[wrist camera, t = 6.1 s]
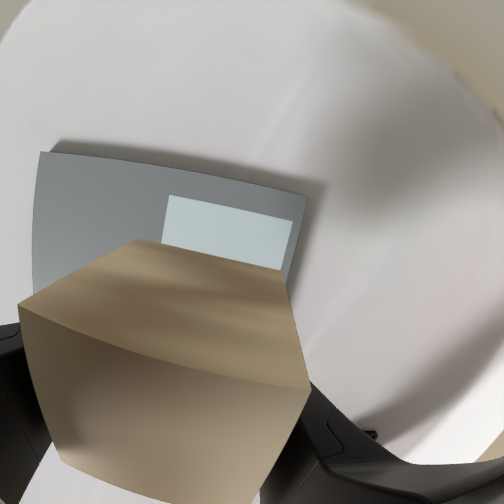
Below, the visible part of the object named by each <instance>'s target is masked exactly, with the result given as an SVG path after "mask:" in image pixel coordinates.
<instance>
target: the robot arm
mask: <svg viewBox="0 0 504 504" xmlns="http://www.w3.org/2000/svg"><path fill="white" fill-rule="evenodd" d="M309 381H310V380H309ZM310 385H311V389H312V390H311V392H310V395H309V397H308V399H307V401H306V403H305V405H304V408H303V410H302V412H301V414H300V416H299V418H298V420H297V422H296V424H295V426H294V428H293V430H292V432H291V434H290V436H289V438H288V440H287V442H286V444H285V445H284V447H283V449H282V451H281V453H280V455H279V457H278V458H277V460H276V462H275V464H274V466H273V467H272V469H271V471H270V473H269V474H268V476H267V478H266V479H265V481H264V483H263V484H262V486H261V488H260V504H504V456H503V457H501V458H498V459H494V460H490V461H485V462H477V463H465V464H446V465H418V464H412V463H408V462H405V461H403V460H401V459H399V458H398V457H396V456H395V455H394V454H392V453H391V452H389V451H388V450H387V449H385V448H384V447H383V446H381V445H380V444H379V443H377V442H376V441H375V440H376V438H377V437H378V434H377V432H376V431H362V430H361V429H359V428H358V427H357V426H356V425H355V424H353V423H352V422H351V421H350V420H349V419H348V418H347V417H346V416H345V415H344V414H343V413H342V412H341V411H340V410H339V409H336V407H335V406H334V405H333V404H332V403H331V402H330V401H329V400H328V399H327V398H326V397H325V396H324V395H323V394H322V393H321V392H320V391H319V390H318V389H317V388H316V386H315V385H314V384H313V383H312V382H311V381H310ZM52 441H53V440H52V438H51V435H50V433H49V430H48V428H47V425H46V422H45V420H44V417H43V414H42V411H41V408H40V405H39V402H38V399H37V396H36V392H35V389H34V385H33V382H32V378H31V374H30V370H29V366H28V362H27V358H26V353H25V348H24V343H23V338H22V333H21V327H20V322H19V323H13V324H7V325H1V326H0V502H1V503H2V504H19V502H20V500H21V498H22V496H23V494H24V492H25V490H26V488H27V486H28V484H29V482H30V480H31V479H32V477H33V475H34V473H35V471H36V469H37V468H38V466H39V463H40V462H41V460H42V458H43V456H44V455H45V453H46V451H47V449H48V448H49V446H50V444H51V443H52Z"/></svg>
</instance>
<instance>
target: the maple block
mask: <svg viewBox="0 0 504 504" xmlns="http://www.w3.org/2000/svg"><path fill="white" fill-rule="evenodd" d="M17 305H18V313H19V320H20V327H21V333H22V338H23V343H24V348H25V353H26V358H27V362H28V366H29V370H30V374H31V378H32V382H33V385H34V389H35V392H36V396H37V399H38V402H39V405H40V408H41V411H42V414H43V417H44V420H45V422H46V425H47V428H48V430H49V433H50V435H51V438H52V440H53V443H54V445H55V447H56V450H57V452H58V454H59V457H60V459H61V461H62V462H64V463H66V464H68V465H70V466H72V467H74V468H76V469H78V470H80V471H82V472H84V473H86V474H88V475H91V476H93V477H95V478H97V479H100V480H102V481H104V482H107V483H109V484H112V485H115V486H117V487H120V488H123V489H125V490H128V491H131V492H134V493H137V494H140V495H143V496H146V497H150V498H153V499H156V500H160V501H164V502H167V503H171V504H251V502H252V501H253V499H254V498H255V496H256V494H257V493H258V491H259V489H260V488H261V486H262V484H263V483H264V481H265V479H266V478H267V476H268V474H269V473H270V471H271V469H272V467H273V466H274V464H275V462H276V460H277V458H278V457H279V455H280V453H281V451H282V449H283V447H284V445H285V444H286V442H287V440H288V438H289V436H290V434H291V432H292V430H293V428H294V426H295V424H296V422H297V420H298V418H299V416H300V414H301V412H302V410H303V408H304V405H305V403H306V401H307V399H308V397H309V395H310V392H311V390H312V389H311V385H310V381H309V377H308V373H307V369H306V364H305V360H304V356H303V352H302V348H301V344H300V340H299V336H298V332H297V328H296V324H295V320H294V317H293V313H292V309H291V305H290V301H289V297H288V293H287V290H286V286H285V282H284V278H283V275H282V271H281V270H277V269H272V268H268V267H263V266H259V265H254V264H250V263H245V262H241V261H236V260H232V259H227V258H223V257H219V256H214V255H210V254H205V253H201V252H197V251H192V250H188V249H184V248H179V247H175V246H171V245H166V244H162V243H158V242H154V241H149V240H145V239H141V238H138V239H136V240H134V241H132V242H130V243H128V244H126V245H124V246H122V247H120V248H118V249H116V250H114V251H112V252H110V253H108V254H106V255H104V256H102V257H100V258H98V259H97V260H95V261H93V262H91V263H89V264H87V265H85V266H83V267H82V268H80V269H78V270H76V271H74V272H72V273H71V274H69V275H67V276H65V277H63V278H62V279H60V280H58V281H56V282H55V283H53V284H51V285H49V286H48V287H46V288H44V289H42V290H41V291H39V292H37V293H36V294H34V295H32V296H30V297H29V298H27V299H25V300H24V301H22V302H20V303H19V304H17Z"/></svg>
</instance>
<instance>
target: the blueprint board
mask: <svg viewBox="0 0 504 504" xmlns="http://www.w3.org/2000/svg"><path fill="white" fill-rule="evenodd" d="M307 199H308V197H306V196H302V195H298V194H294V193H290V192H286V191H282V190H277V189H273V188H269V187H265V186H260V185H256V184H251V183H247V182H242V181H238V180H233V179H228V178H223V177H218V176H213V175H208V174H203V173H198V172H192V171H187V170H181V169H175V168H170V167H164V166H157V165H151V164H145V163H138V162H131V161H124V160H117V159H109V158H101V157H93V156H84V155H75V154H65V153H54V152H41V151H40V157H39V163H38V170H37V178H36V186H35V195H34V207H33V223H32V276H33V293H34V294H36V293H37V292H39V291H41V290H42V289H44V288H46V287H48V286H49V285H51V284H53V283H55V282H56V281H58V280H60V279H62V278H63V277H65V276H67V275H69V274H71V273H72V272H74V271H76V270H78V269H80V268H82V267H83V266H85V265H87V264H89V263H91V262H93V261H95V260H97V259H98V258H100V257H102V256H104V255H106V254H108V253H110V252H112V251H114V250H116V249H118V248H120V247H122V246H124V245H126V244H128V243H130V242H132V241H134V240H136V239H138V238H141V239H145V240H149V241H154V242H158V243H162V244H166V245H171V246H175V247H179V248H184V249H188V250H192V251H197V252H201V253H205V254H210V255H214V256H219V257H223V258H227V259H232V260H236V261H241V262H245V263H250V264H254V265H259V266H263V267H268V268H272V269H277V270H281V271H282V275H283V278H284V282H285V284H286V281H287V277H288V273H289V270H290V266H291V262H292V259H293V255H294V251H295V247H296V243H297V239H298V236H299V232H300V228H301V224H302V220H303V216H304V212H305V208H306V204H307Z"/></svg>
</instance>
